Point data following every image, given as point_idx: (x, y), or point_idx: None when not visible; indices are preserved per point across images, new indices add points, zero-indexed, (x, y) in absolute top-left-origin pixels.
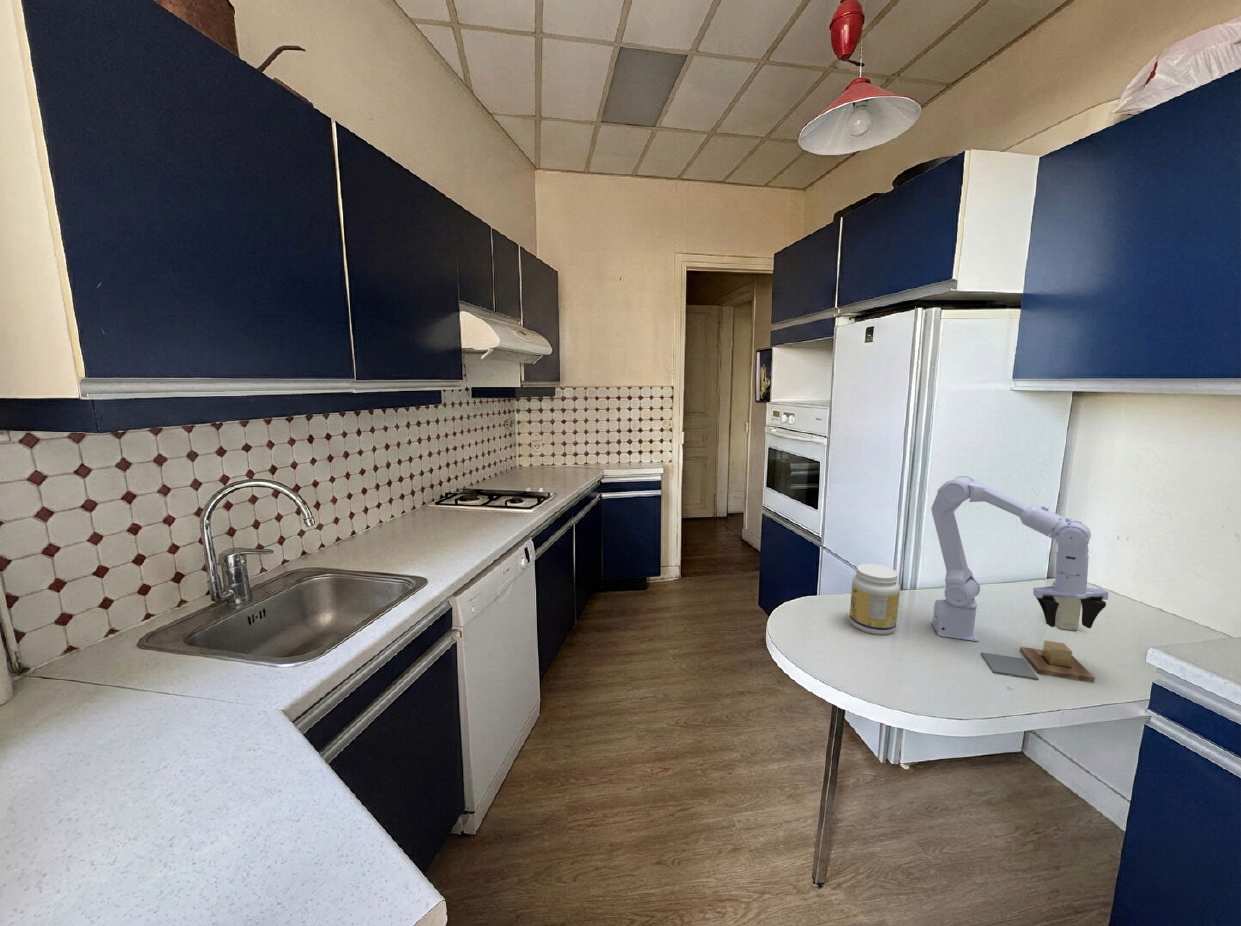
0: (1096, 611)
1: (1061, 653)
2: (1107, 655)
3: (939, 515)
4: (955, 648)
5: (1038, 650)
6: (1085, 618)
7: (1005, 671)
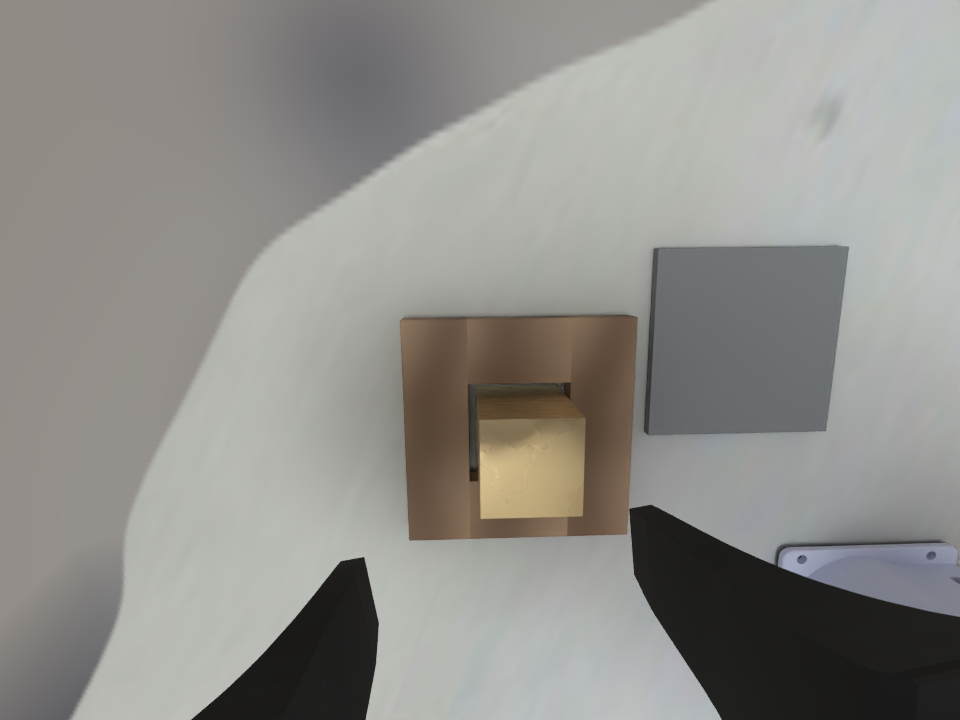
0: (241, 710)
1: (528, 412)
2: (231, 615)
3: None
4: (916, 442)
5: (552, 524)
6: (357, 659)
7: (791, 263)
